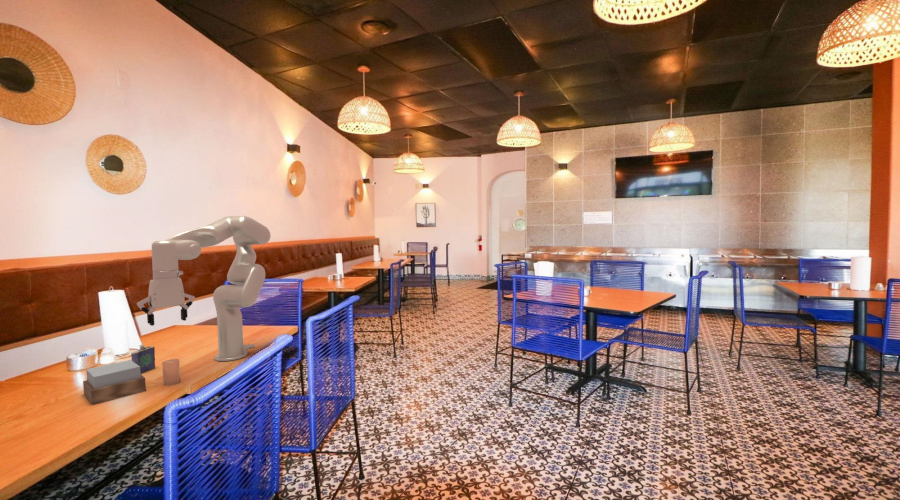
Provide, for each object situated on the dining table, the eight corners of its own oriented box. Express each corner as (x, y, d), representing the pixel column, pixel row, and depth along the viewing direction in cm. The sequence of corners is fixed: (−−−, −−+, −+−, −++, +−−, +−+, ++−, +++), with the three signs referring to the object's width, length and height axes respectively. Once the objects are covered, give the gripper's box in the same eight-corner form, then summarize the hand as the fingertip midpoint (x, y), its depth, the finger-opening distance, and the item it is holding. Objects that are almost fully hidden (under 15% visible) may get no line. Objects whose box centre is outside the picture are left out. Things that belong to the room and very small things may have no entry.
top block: (131, 370, 144) (130, 359, 143) (140, 377, 136) (139, 366, 136) (87, 380, 134) (86, 369, 134) (94, 389, 127) (93, 377, 127)
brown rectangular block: (177, 379, 147) (176, 358, 146) (182, 382, 143) (181, 360, 143) (161, 383, 143) (160, 361, 142) (165, 386, 140) (164, 364, 139)
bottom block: (135, 382, 145) (134, 369, 145) (146, 392, 136) (145, 377, 136) (84, 395, 134) (83, 381, 134) (92, 406, 125) (91, 391, 125)
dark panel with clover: (136, 376, 151) (134, 348, 150) (129, 375, 151) (127, 348, 150) (157, 367, 160) (155, 341, 159) (151, 367, 160) (149, 341, 160)
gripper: (189, 272, 150) (191, 317, 151) (132, 276, 137) (135, 325, 137) (197, 273, 145) (199, 319, 146) (138, 278, 132) (141, 328, 133)
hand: (168, 322), depth 142 cm, fingers open, 9 cm apart
